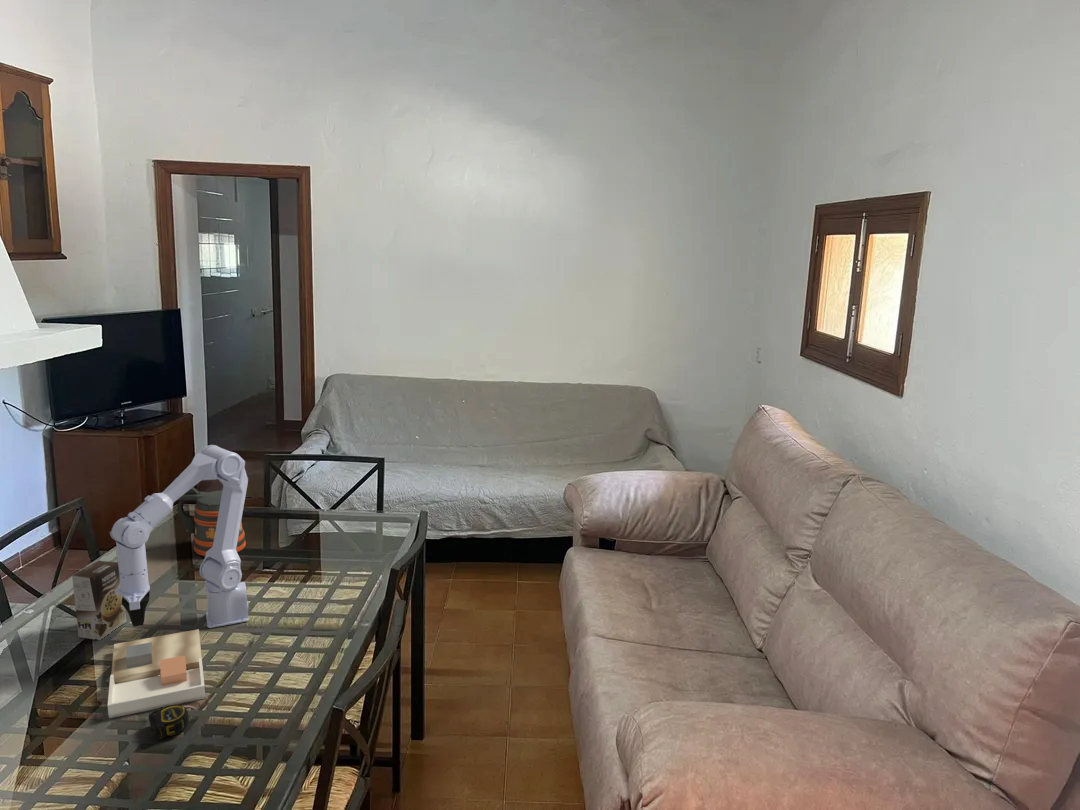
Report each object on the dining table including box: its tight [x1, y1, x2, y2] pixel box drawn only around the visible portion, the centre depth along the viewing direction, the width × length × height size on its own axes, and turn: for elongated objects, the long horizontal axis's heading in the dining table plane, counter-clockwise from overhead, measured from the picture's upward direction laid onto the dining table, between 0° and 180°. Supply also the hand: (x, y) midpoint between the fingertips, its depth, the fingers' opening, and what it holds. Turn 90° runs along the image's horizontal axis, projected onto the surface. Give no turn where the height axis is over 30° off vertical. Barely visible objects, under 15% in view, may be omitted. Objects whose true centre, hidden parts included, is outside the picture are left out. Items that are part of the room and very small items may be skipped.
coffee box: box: [71, 560, 127, 641], centre depth 193 cm, size 9×6×16 cm
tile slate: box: [126, 642, 153, 668], centre depth 179 cm, size 5×5×2 cm
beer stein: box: [176, 487, 247, 557], centre depth 240 cm, size 19×15×20 cm
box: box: [107, 658, 206, 719], centre depth 170 cm, size 18×12×3 cm, turn 115°
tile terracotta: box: [160, 655, 187, 685], centre depth 175 cm, size 5×5×2 cm
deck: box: [110, 628, 203, 684], centre depth 183 cm, size 18×15×2 cm
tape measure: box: [148, 704, 190, 741], centre depth 159 cm, size 7×7×4 cm
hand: (138, 624), depth 185 cm, fingers closed
